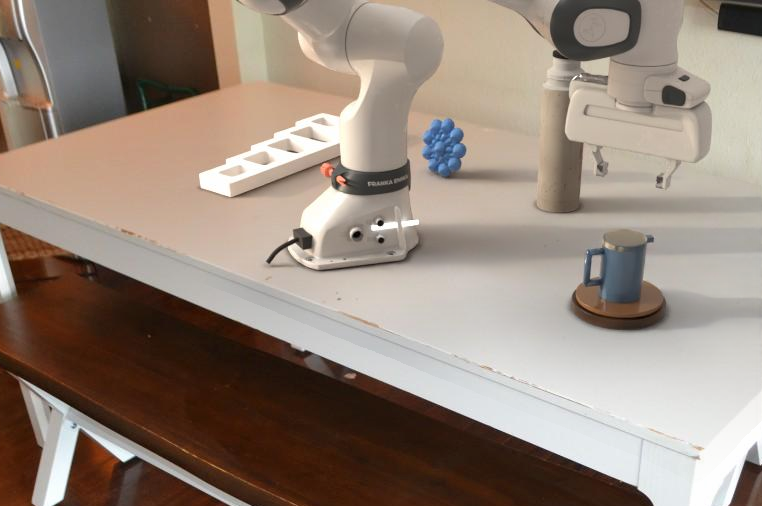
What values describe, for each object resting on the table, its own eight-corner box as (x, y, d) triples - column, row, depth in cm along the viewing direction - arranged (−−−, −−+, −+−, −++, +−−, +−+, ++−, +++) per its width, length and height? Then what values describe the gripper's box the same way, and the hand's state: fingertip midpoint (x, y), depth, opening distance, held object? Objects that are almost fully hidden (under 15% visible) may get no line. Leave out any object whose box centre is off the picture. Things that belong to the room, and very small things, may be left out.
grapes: (479, 178, 197) (480, 118, 190) (456, 186, 193) (456, 126, 186) (438, 164, 204) (438, 106, 197) (414, 172, 200) (414, 113, 193)
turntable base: (606, 338, 141) (607, 328, 140) (553, 299, 151) (554, 290, 150) (684, 317, 146) (685, 308, 145) (627, 281, 157) (628, 272, 156)
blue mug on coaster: (643, 275, 154) (650, 217, 149) (676, 313, 143) (685, 251, 138) (564, 283, 152) (568, 224, 147) (592, 322, 141) (597, 259, 136)
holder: (231, 197, 188) (229, 183, 187) (169, 178, 197) (167, 164, 196) (382, 139, 218) (382, 126, 217) (323, 124, 228) (322, 113, 226)
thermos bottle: (580, 198, 187) (592, 46, 172) (577, 214, 180) (588, 57, 165) (539, 196, 188) (546, 44, 173) (534, 211, 182) (541, 55, 167)
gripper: (560, 75, 133) (554, 174, 140) (705, 97, 124) (691, 202, 131) (581, 65, 137) (574, 161, 145) (722, 86, 128) (707, 188, 135)
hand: (630, 181), depth 138 cm, fingers open, 8 cm apart
